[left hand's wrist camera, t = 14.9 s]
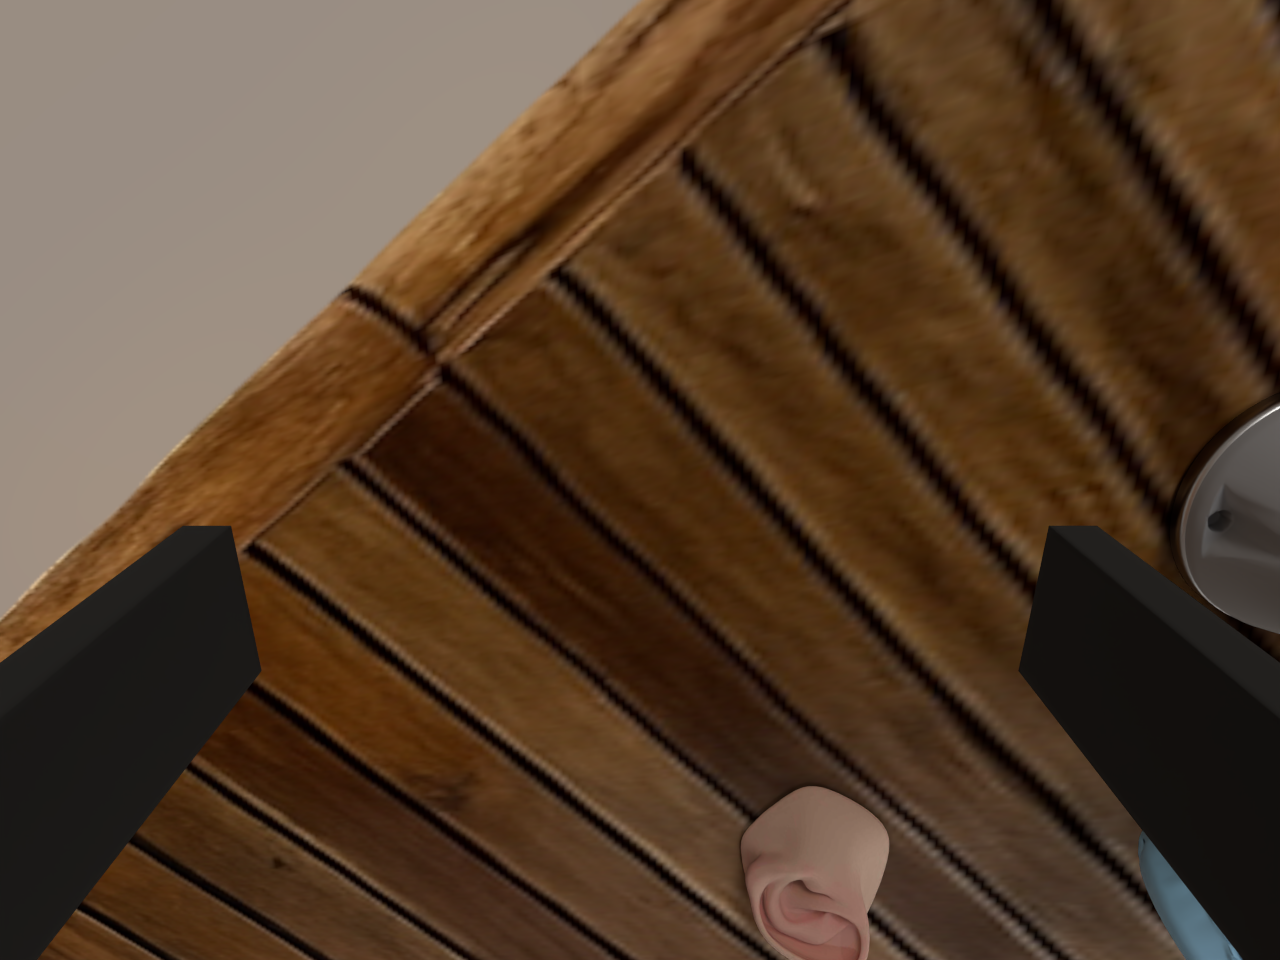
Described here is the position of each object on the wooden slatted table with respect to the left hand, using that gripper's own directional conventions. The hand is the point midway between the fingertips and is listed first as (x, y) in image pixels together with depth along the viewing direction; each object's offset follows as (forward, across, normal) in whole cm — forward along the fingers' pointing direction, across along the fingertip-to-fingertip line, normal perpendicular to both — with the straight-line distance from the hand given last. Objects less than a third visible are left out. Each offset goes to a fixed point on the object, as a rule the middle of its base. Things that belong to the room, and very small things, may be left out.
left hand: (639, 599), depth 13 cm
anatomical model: (+31, +13, -40) cm, 52 cm away
